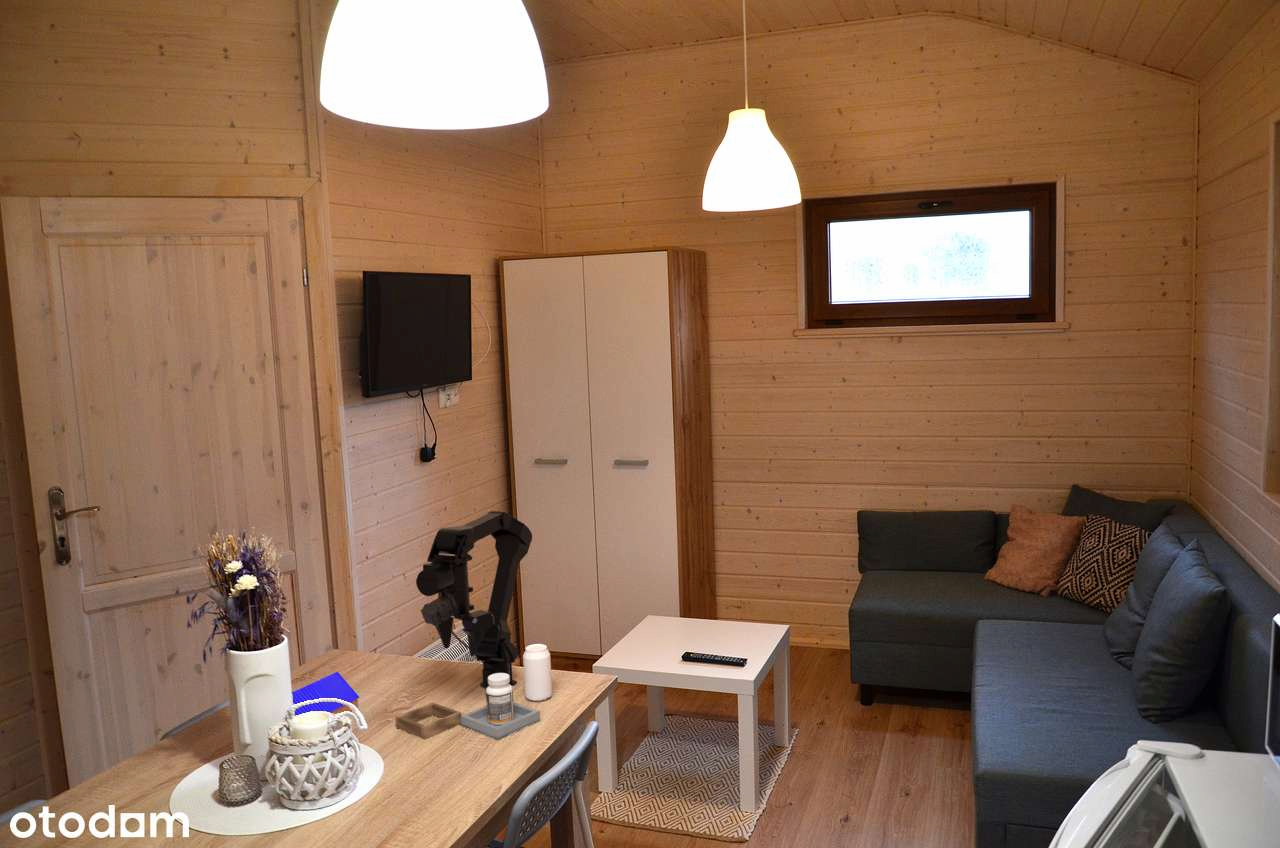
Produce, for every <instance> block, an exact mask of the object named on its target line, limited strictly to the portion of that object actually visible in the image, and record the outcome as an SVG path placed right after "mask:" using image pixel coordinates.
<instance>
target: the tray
mask: <svg viewBox="0 0 1280 848" xmlns="http://www.w3.org/2000/svg"><path fill="white" fill-rule="evenodd" d="M513 706H514V719H513V720H512V721H510V722H508V723H506V724H503V725H492V724H490V723H489V722H488V718H487V704H486V705H484V706H482V707H480V708H476V709H475V710H471V711H470V712H468V713H465V714H461V715H462V716H461V724H460V725H461V727H462V726H463V727H462V728H464V727H466V728H465V729H467V728H469V729H468V730H470V729H472V730H474V731H473V732H475V731H476V732H475V733H478V732H479V733H478V734H480V733H481V735H483V734H484V735H483V736H485V735H486V737H488V736H489V737H488V738H491V737H492V738H491V739H493V738H494V739H493V740H496V741H500V740H502V739H505V738H506V737H508V735H509V734H511V733H513V732H515V731H517V732H519V731H518V730H520V729H522V728H524V727H526V726H528V727H530V726H529V725H531V724H533V723H535V724H537V723H539V722H541V712H540V709H539V710H538V709H535V708H534V707H533V708H532V707H529V706H526V705H525V704H524V705H523V704H521V703H517V702H514V701H513ZM538 721H539V722H538ZM536 722H537V723H536ZM533 725H534V724H533ZM531 726H532V725H531ZM526 728H527V727H526ZM524 729H525V728H524ZM472 730H471V731H472ZM522 730H523V729H522ZM520 731H521V730H520ZM515 733H516V732H515ZM513 734H514V733H513ZM511 735H512V734H511ZM509 736H510V735H509Z"/></svg>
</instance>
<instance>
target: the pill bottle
mask: <svg viewBox="0 0 1280 848" xmlns="http://www.w3.org/2000/svg"><path fill="white" fill-rule="evenodd" d="M509 682H510V676H509V675H508V674H506V673H495V674H492V675H490V676H489V677H488V684H489V686H488V687H487V688H486V690H485V699H486V700H485V701H486V705H487V718H488V722H489V723H490V724H492V725H503V724H506V723H508V722H510V721H512V720H513V719H514V706H513V702H514V689H513V685H510V684H509Z"/></svg>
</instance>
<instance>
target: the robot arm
mask: <svg viewBox="0 0 1280 848" xmlns="http://www.w3.org/2000/svg"><path fill="white" fill-rule="evenodd" d="M488 536H491V537H492V538H493V539H494V540H495V541H494V542H495V543H494V547H495V548H494V549H495V551H496V554H497V557H498V562H497V567H496V570H495V571H496V572H495V576H494V581H493V585H492V589H491V595H490V600H489V605H488V610H482V609H479V610H475V605H474V604H471V602H470V600H471V599H470V593H473V592H474V587H473V586H470V584H469V568H468V565H469V564H468V562H469V561H472V560H473V556H472V555H471V554H469V552H471V551H472V550H473V549H474V547H475V543H477V542H478V541H480V540H483V539H484V538H486V537H488ZM532 541H533V533H532V530H530V529H529V527H528V526H527V525H526V524H525V523H523V521H522V522H521V520H518V519H516V518H515V517H514V516H512V514H511V513H509V512H507V511H504V510H503V511H501V510H491V511H488V512H487V513H485V515H482V516H480V517H478V518H476V519H474V520H472V521H470V522H468V523H465V524H463V525H457V526H456V525H455V526H447V527H442V528H439V530H438V531H437V532H436V534H435V537H434V539H433V542H432V545H431V548H430V551H429V554H428V557H427V562H428V563H427V562H426V563H425V564H423V565H422V570H421V571H420V572H419V573H418V574H417V577H416V580H415V582H416V583H415V584H416V587H417V590H418V592H420V593H421V594H422V595H423V596H426V597H431V596H434V595H437V598H436V599H433V600H432V601H430V602H429V603H426V604H424V606H423V607H422V608H421V609H420V613H421V616H422V618H423V619H424V623H425V624H427V625H428V624H429V625H433V626H434V627H435V629H436V630H437V634H438V635H439V638H440V640H441V643H442V645H443V648H444V649H449V648H450V646H451V640H452V633H453V624H454V619H456V620H460V621H461V625H462V627H463V628H462V632H464V633H465V634H466V636H467V643H468V650H469V654H470V657H475V658H476V661H477V662H482V670H481V671H482V672H481V673H482V682H480V683H479V686H480V687H483V688H486V689H487V687H488V686H489V684H488V677H489V676H490V675H492V674H495V673H506V674H508V675H509V676H510V682H509V684H510V685H511V686H514V685H516V684H518V681H517V680H515V679H513V668H512V667H513V666H512V665H513V664H514V663H515V662H516V660H517V659H518V654H519V653H518V652H519V649H518V648H517V647H516V646H515V645H514V644H513V643H512V642H511V638H512V633H511V629H510V626H509V623H508V620H509V619H508V618H509V613H510V609H511V603H512V598H513V592H514V588H515V583H516V579H517V573H518V569H519V564H520V562H521V561H522V560H523V559H524V557H526V556H527V554H528V552H529V549H530V546H531V543H532ZM472 610H475V611H473V612H470V611H472ZM512 663H513V664H512Z"/></svg>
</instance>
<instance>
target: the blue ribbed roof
mask: <svg viewBox="0 0 1280 848" xmlns="http://www.w3.org/2000/svg"><path fill="white" fill-rule="evenodd" d="M291 693H292V694H293V703H294V704H297V703H300V702H304V701H307V700H314V699H319V698H337V699H341V700H344V701H347V702H350V703H352V704H354V705H355V706H356V707H357V708H358V709H359V700H358V699H359V698H360V696H359V695H358V693H357V692H356V691H355V690H354V688H352V687H351V685H350V684H349V683H348V682H347V681H346V679H345V678H344V677H343V676H342V674H340V673H339V671H336V672H334V673H333V672H332V673H331V674H329V675H326V676H325V677H323V678H320V679H318V680H316V681H314V682H311V683H310V684H309V683H308V684H307V685H305V686H303V687H301V688H299V689H296V690H294V691H292V692H291ZM310 711H327V712H330V713H334V714H337V713H341V712H344V711H350V712H352V710H351V709H350V708H349V707H348V706H346V705H343V704H341V703H337V702H319V703H313V704H309V705H305V706H302V707H300V708H298V709H296V711H295V715H299V714H302V713H306V712H310Z"/></svg>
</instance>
